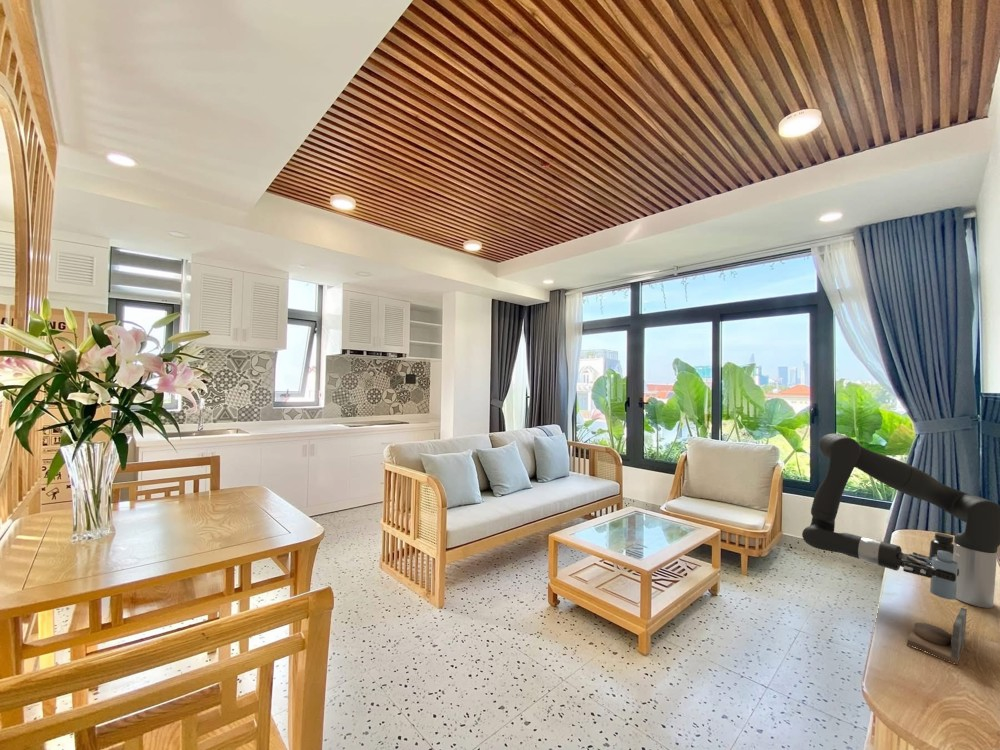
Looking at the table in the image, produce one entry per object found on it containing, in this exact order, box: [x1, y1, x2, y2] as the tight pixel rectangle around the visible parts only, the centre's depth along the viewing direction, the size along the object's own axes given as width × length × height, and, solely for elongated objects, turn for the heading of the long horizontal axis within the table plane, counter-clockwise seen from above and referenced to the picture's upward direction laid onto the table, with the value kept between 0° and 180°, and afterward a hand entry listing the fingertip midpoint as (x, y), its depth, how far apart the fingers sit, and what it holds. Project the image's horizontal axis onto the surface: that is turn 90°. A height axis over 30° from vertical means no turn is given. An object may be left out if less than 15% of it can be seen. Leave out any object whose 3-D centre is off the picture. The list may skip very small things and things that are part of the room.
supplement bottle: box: [928, 532, 954, 564], centre depth 162 cm, size 7×7×12 cm
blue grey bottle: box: [929, 550, 958, 601], centre depth 124 cm, size 5×5×12 cm
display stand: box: [906, 607, 968, 665], centre depth 112 cm, size 14×9×10 cm, turn 127°
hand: (956, 575), depth 122 cm, fingers closed on blue grey bottle, 5 cm apart
